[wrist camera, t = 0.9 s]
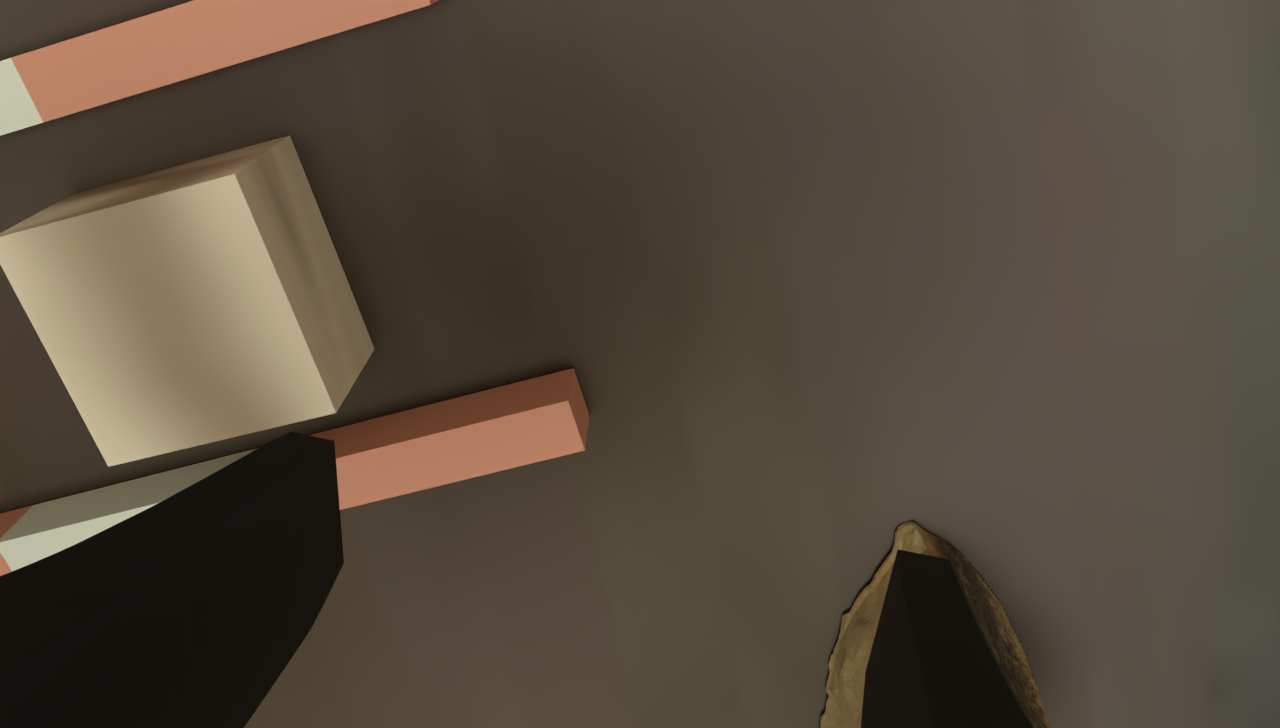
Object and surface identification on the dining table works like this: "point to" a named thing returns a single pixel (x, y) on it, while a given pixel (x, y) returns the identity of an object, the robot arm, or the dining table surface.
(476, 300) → the dining table surface
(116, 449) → the maple block
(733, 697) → the dining table surface
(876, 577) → the rock
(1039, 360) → the dining table surface
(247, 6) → the pink-beige flat slab
